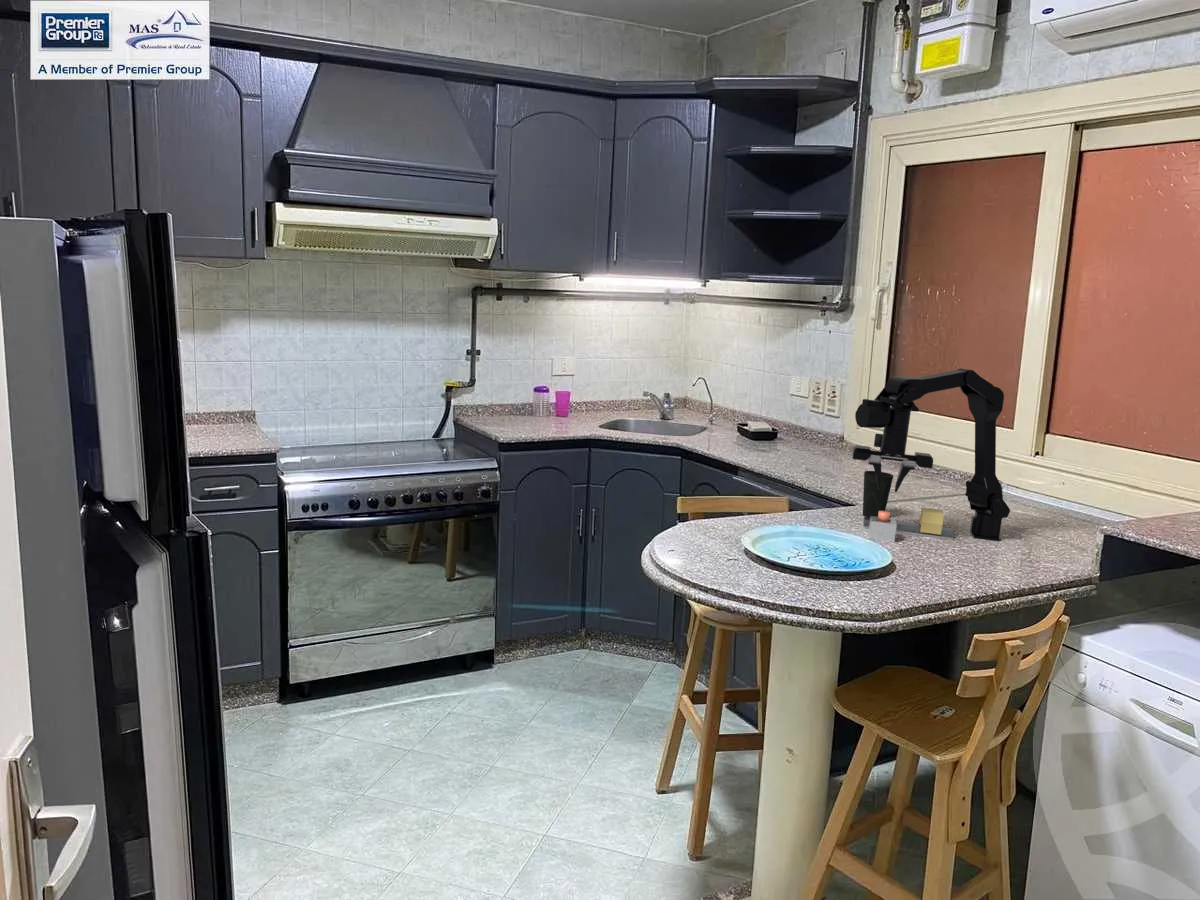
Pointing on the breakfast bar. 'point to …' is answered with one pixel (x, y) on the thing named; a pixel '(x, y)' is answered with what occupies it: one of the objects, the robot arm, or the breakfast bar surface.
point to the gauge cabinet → (882, 529)
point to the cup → (875, 493)
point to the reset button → (884, 515)
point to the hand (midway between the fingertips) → (887, 490)
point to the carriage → (931, 520)
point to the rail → (915, 529)
